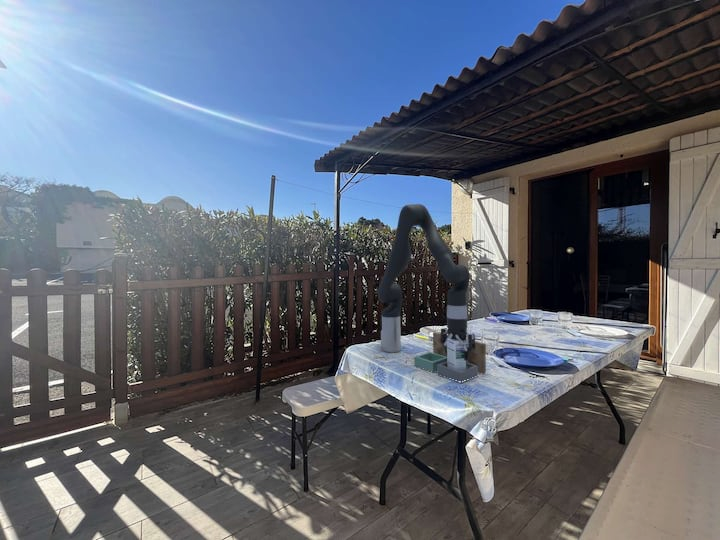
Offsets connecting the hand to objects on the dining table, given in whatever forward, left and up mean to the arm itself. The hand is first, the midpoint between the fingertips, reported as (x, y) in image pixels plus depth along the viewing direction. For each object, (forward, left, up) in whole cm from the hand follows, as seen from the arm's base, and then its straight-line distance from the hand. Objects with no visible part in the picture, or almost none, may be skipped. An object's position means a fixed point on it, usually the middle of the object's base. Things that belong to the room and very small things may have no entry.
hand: (457, 357), depth 122 cm
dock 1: (-13, 0, -7) cm, 15 cm away
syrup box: (0, 0, -7) cm, 7 cm away
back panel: (-7, +9, -7) cm, 13 cm away
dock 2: (0, 0, -7) cm, 7 cm away
